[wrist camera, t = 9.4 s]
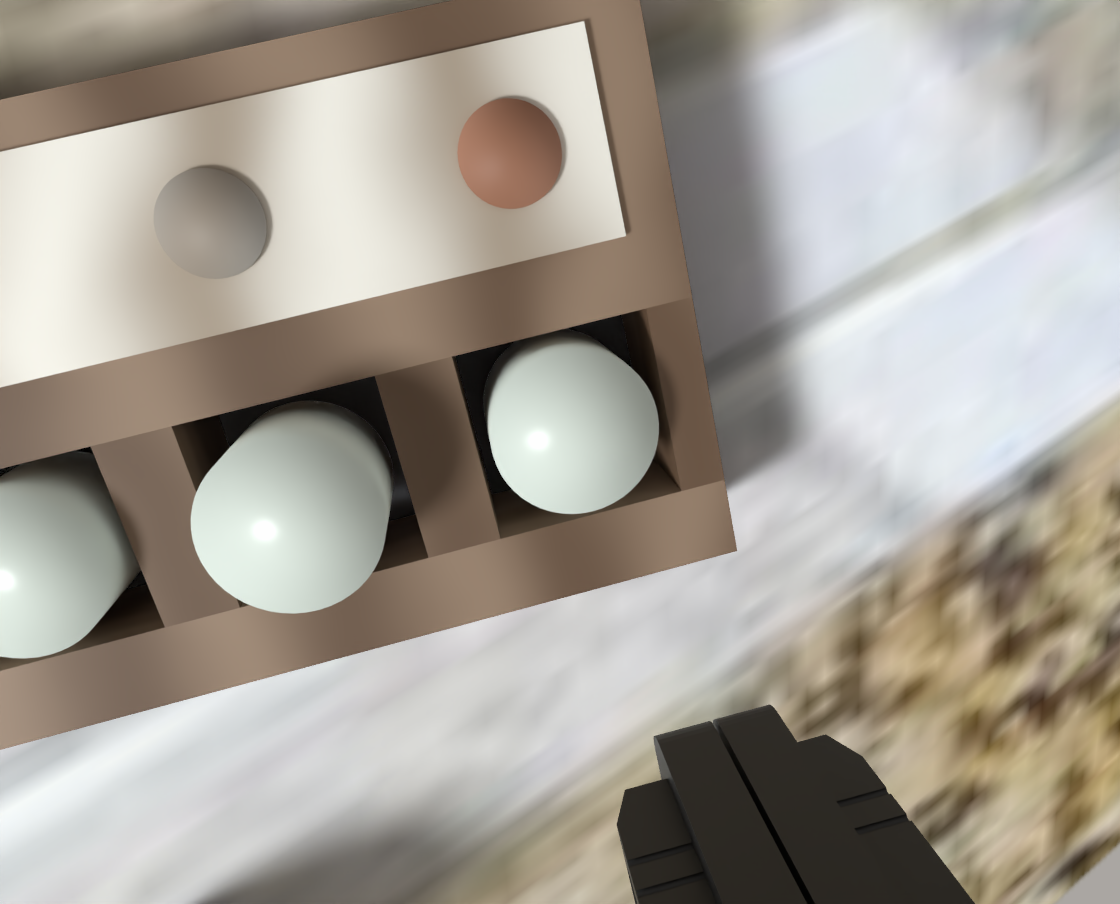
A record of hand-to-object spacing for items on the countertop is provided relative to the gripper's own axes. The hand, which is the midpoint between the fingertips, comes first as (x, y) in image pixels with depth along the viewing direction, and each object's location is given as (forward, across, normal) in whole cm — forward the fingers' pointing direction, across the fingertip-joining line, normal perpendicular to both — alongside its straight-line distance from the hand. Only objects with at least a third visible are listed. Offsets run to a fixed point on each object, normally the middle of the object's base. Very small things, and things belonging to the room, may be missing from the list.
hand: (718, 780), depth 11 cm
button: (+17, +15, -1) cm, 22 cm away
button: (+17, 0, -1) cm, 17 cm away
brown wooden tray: (+18, +7, -4) cm, 20 cm away
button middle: (+15, +7, -1) cm, 17 cm away
